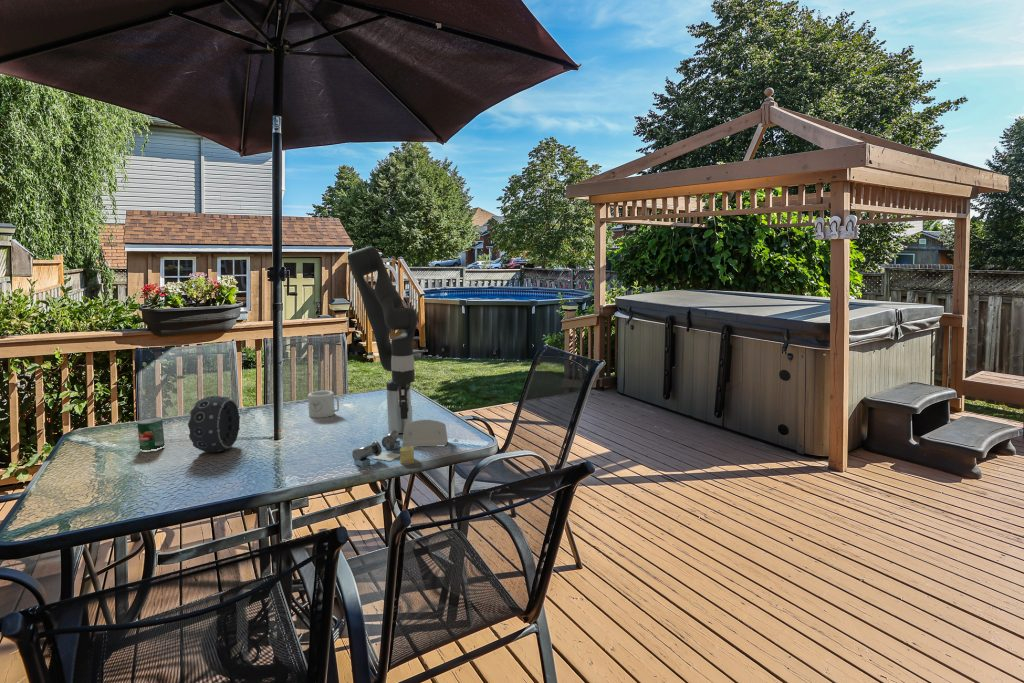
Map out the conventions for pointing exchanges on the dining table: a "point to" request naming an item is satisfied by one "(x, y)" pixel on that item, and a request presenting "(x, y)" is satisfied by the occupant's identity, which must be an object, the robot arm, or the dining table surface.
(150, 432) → the canned tomato
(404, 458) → the block
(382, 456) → the plate
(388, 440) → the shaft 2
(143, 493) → the dining table surface
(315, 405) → the mug
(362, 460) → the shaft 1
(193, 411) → the dark grey drum piece
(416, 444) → the grey rounded block
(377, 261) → the robot arm
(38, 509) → the dining table surface
